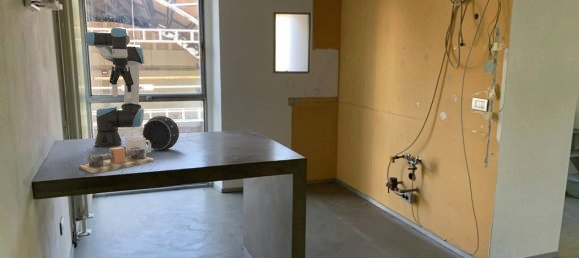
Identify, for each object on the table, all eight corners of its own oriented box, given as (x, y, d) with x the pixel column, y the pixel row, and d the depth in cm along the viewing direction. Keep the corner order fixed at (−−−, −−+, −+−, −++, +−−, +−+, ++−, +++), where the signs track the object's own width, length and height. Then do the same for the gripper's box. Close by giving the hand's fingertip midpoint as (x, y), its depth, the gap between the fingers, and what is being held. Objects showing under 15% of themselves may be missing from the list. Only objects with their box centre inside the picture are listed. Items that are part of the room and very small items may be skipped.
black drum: (173, 153, 246) (172, 118, 243) (140, 151, 250) (139, 116, 246) (181, 149, 256) (180, 115, 253) (150, 147, 260) (149, 114, 257)
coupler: (109, 162, 216) (109, 148, 215) (120, 160, 221) (120, 146, 220) (114, 163, 213) (113, 149, 212) (125, 161, 218) (124, 147, 217)
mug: (145, 154, 245) (144, 135, 243) (155, 156, 238) (154, 137, 236) (122, 157, 234) (121, 138, 233) (132, 160, 228) (131, 141, 226)
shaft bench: (93, 173, 201) (92, 159, 200) (79, 168, 210) (78, 155, 209) (153, 161, 225) (153, 149, 224) (138, 157, 234) (138, 145, 233)
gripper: (101, 57, 236) (103, 96, 239) (126, 57, 220) (128, 99, 224) (114, 57, 241) (116, 95, 245) (139, 57, 226) (141, 98, 229)
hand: (121, 97), depth 234 cm, fingers open, 13 cm apart
